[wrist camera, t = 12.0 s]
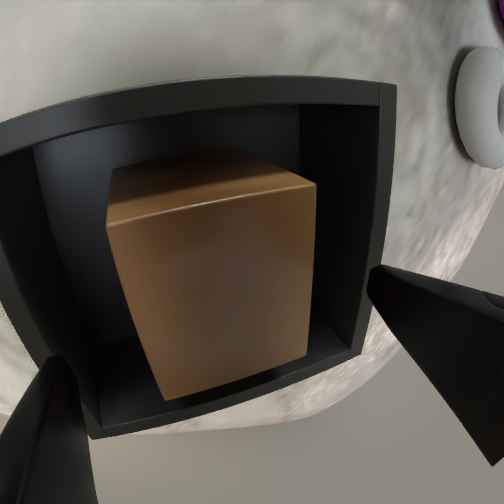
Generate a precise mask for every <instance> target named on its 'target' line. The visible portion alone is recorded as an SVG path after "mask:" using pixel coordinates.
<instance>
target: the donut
mask: <svg viewBox="0 0 504 504" xmlns="http://www.w3.org/2000/svg"><path fill="white" fill-rule="evenodd" d="M455 113H456V122H457V127H458V131H459V136H460V138H461V140H462V143H463V145H464V147H465V149H466V152H467V153H468V154H469V155H470V157H471V158H472V159H473V160H474V161H475V162H476V163H477V164H479V165H480V166H482V167H486V168H492V169H497V168H501V167H502V166H504V53H503V52H502V51H500V50H499V49H497V48H494V47H487V46H481V47H477V48H476V49H474V50H473V51H471V52H470V53H469V54H467V56H466V57H465V59H464V61H463V63H462V65H461V67H460V69H459V73H458V77H457V81H456V90H455Z"/></svg>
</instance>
